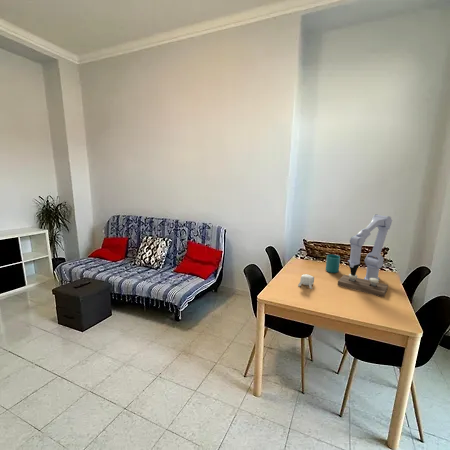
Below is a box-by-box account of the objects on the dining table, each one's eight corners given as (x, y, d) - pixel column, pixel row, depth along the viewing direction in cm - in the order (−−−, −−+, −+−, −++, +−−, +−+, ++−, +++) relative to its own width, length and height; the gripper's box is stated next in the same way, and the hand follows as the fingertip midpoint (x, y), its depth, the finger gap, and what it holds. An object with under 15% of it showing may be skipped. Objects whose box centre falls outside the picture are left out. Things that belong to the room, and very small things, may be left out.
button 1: (349, 279, 176) (350, 273, 176) (357, 281, 173) (358, 274, 173) (347, 281, 173) (347, 275, 172) (355, 283, 170) (356, 277, 169)
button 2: (369, 283, 169) (370, 277, 168) (378, 285, 166) (379, 279, 165) (367, 285, 165) (368, 279, 164) (377, 288, 162) (377, 281, 161)
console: (343, 278, 183) (344, 274, 183) (387, 289, 167) (388, 284, 167) (337, 285, 172) (337, 280, 172) (383, 297, 157) (384, 292, 156)
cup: (339, 268, 201) (341, 254, 199) (337, 274, 191) (339, 259, 189) (327, 266, 206) (328, 252, 203) (324, 271, 195) (325, 257, 193)
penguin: (300, 286, 178) (295, 286, 165) (302, 273, 179) (297, 272, 166) (314, 289, 173) (309, 289, 160) (316, 276, 174) (311, 275, 161)
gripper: (351, 251, 177) (349, 270, 180) (345, 256, 166) (343, 276, 169) (363, 253, 173) (360, 273, 176) (357, 258, 162) (355, 279, 165)
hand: (353, 275), depth 172 cm, fingers closed, pressing on button 1
